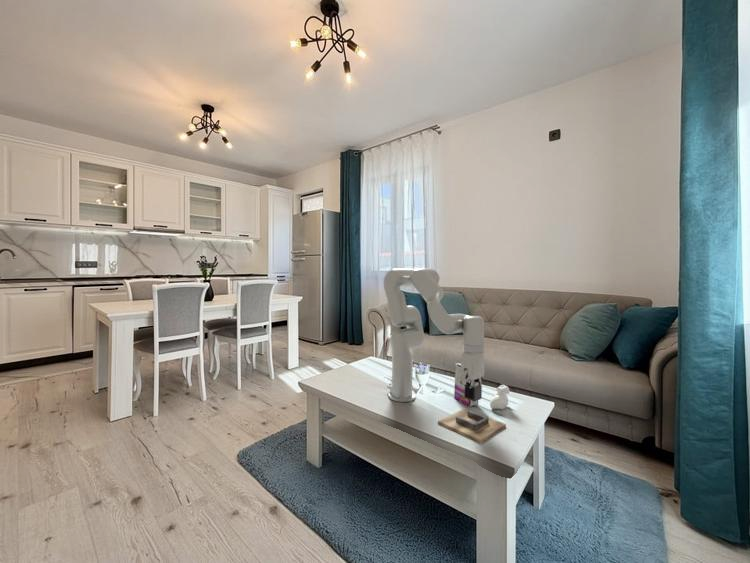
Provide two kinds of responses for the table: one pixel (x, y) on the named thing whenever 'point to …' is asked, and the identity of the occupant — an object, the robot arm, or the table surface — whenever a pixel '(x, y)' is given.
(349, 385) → the table surface
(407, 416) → the table surface
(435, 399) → the table surface
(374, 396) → the table surface
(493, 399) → the bust
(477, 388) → the connector plug
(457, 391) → the candy bar box
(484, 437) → the end holder
